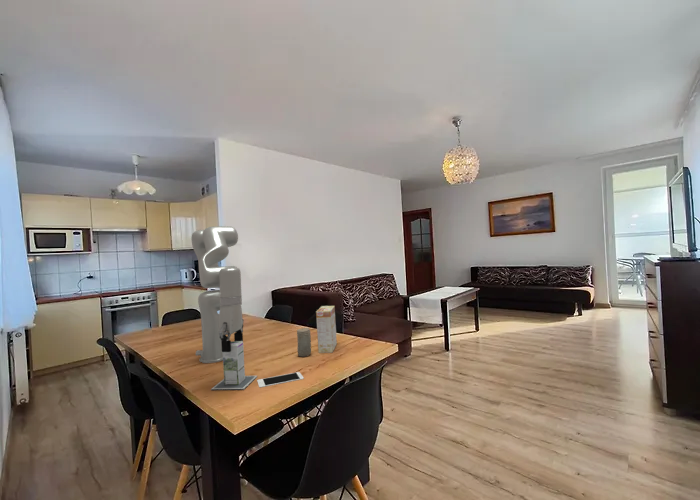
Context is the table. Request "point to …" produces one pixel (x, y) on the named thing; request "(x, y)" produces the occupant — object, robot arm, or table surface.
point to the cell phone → (279, 379)
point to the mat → (241, 386)
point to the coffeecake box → (326, 329)
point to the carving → (304, 342)
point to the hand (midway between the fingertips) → (232, 347)
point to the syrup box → (234, 364)
